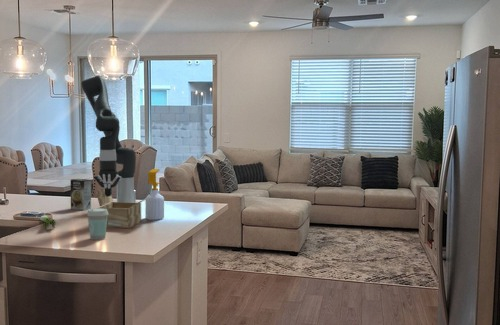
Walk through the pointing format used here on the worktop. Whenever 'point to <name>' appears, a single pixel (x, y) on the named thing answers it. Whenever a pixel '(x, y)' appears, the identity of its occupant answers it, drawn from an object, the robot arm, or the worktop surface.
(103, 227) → the coffee cup
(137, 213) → the wooden box
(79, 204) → the coffee box
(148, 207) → the soap bottle
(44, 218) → the celery stalk
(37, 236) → the worktop surface
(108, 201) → the flap
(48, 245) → the worktop surface
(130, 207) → the flap
